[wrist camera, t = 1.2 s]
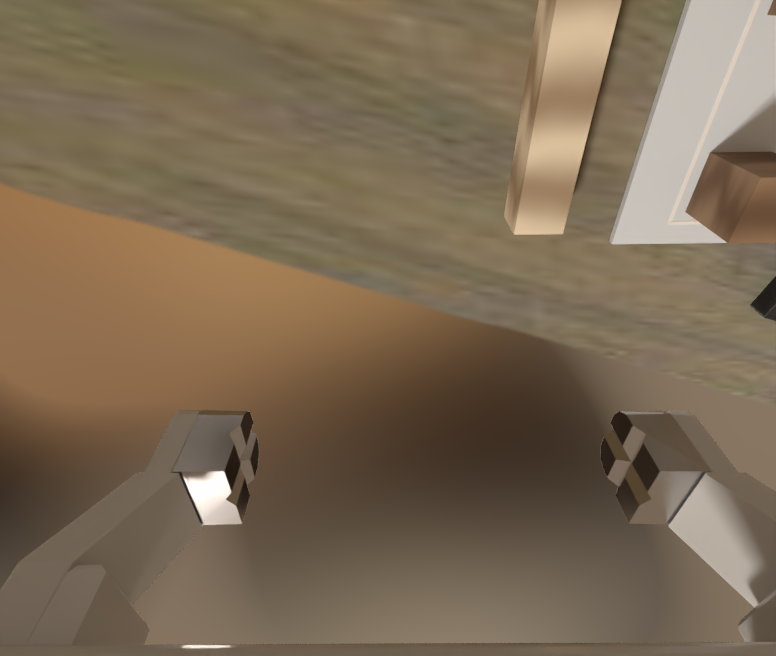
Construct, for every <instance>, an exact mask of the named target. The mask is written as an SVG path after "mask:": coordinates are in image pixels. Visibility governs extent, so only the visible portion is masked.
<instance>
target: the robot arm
mask: <svg viewBox="0 0 776 656" xmlns="http://www.w3.org/2000/svg"><path fill="white" fill-rule="evenodd" d="M252 425H253V420H252V416H251V413H250V412H248V411H216V410H215V411H214V410H179V411H178V412H177V413H176V414H175V415H174V416H173V418H172V420H171V422H170V424H169V426H168V428H167V430H166V431H165V434H164V435H163V437H162V439H161V441H160V443H159V445H158V447H157V449H156V451H155V453H154V455H153V457H152V459H151V461H150V463H149V465H148V466H147V468H146V470H145V472H144V473H137V474H135V475H134V476H132V477H131V478H130V479H128V480H127V481H126V482H124V483H123V484H122V485H121V486H119V487H118V488H116V489H115V490H114V491H112V492H111V493H110V494H109V495H107V496H106V497H105V498H103V499H102V500H101V501H99V502H98V503H97V504H95V505H94V506H93V507H91V508H90V509H89V510H87V511H86V512H85V513H83V514H82V515H81V516H79V517H78V518H77V519H75V520H74V521H73V522H72V523H70V524H69V525H68V526H66V527H65V528H63V529H62V530H61V531H60V532H58V533H57V534H56V535H54V536H53V537H52V538H50V539H49V540H48V541H46V542H45V543H44V544H42V545H41V546H40V547H38V548H37V549H36V550H34V551H33V552H32V553H31V554H29V555H28V556H26V557H25V558H24V559H23V560H21V561H20V562H19V563H18V564H17V566H16V567H15V569H14V570H13V572H12V573H11V575H10V576H9V578H8V579H7V581H6V582H5V584H4V586H3V587H2V588H1V590H0V656H776V492H775V491H774V490H772V489H771V488H769V487H768V486H766V485H764V484H763V483H761V482H760V481H758V480H757V479H755V478H753V477H752V476H750V475H748V474H747V473H738V471H737V470H736V469H735V467H734V466H733V465H732V463H731V462H730V461H729V460H728V458H727V457H726V455H725V454H724V453H723V451H722V450H721V449H720V448H719V446H718V445H717V444H716V442H715V441H714V440H713V438H712V437H711V436H710V434H709V433H708V432H707V431H706V429H705V428H704V426H703V425H702V424H701V423H700V421H699V420H698V419H697V417H696V416H695V415H694V414H692V413H691V412H689V411H619V412H617V413H616V414H615V415H614V416H613V418H612V420H611V425H612V427H613V429H614V430H613V431H611V432H610V433H608V434H607V435H605V436H604V438H603V441H602V444H601V448H600V451H601V452H600V458H601V462H602V466H603V469H604V471H605V473H606V476H607V478H608V479H610V480H611V481H612V482H613V483H615V484H616V485H617V486H618V489H617V493H616V497H617V499H618V501H619V504H620V506H621V508H622V510H623V512H624V514H625V516H626V518H627V520H628V522H629V523H637V524H638V523H639V524H640V523H641V524H669V526H668V527H669V528H671V529H672V530H673V531H674V532H675V533H676V534H677V535H678V536H679V537H680V538H681V539H682V540H683V541H685V543H686V544H688V545H689V546H690V547H691V548H692V549H693V550H694V551H695V552H696V553H697V554H698V555H699V556H700V557H701V558H702V559H703V560H705V561H706V562H707V563H708V564H709V565H710V566H711V567H712V568H713V569H714V570H715V571H716V572H717V573H718V574H720V575H721V576H722V577H723V578H724V579H725V580H726V581H727V582H728V583H729V584H730V585H731V586H732V587H733V588H734V589H735V590H737V592H739V593H740V594H741V595H742V596H743V597H744V598H745V599H746V600H747V601H748V602H749V603H750V604H751V605H753V607H755V608H754V609H753V610H752V611H750V612H749V613H748V614H747V615H746V616H745V617H744V618H742V619H741V620H740V623H739V625H738V629H739V631H740V633H741V634H742V636H743V638H744V640H745V642H673V643H672V642H664V643H663V642H660V643H659V642H655V643H654V642H652V643H650V642H649V643H648V642H647V643H646V642H644V643H416V644H415V643H407V644H406V643H396V644H395V643H394V644H393V643H391V644H390V643H387V644H386V643H384V644H174V645H173V644H167V645H164V644H163V645H162V644H159V645H144V644H145V641H146V638H147V635H148V633H149V628H148V626H147V623H146V622H145V621H144V619H143V618H142V617H141V616H140V614H139V613H138V612H137V610H136V609H135V608H134V606H133V604H134V603H135V602H136V601H137V600H138V599H139V598H140V597H141V595H142V594H143V593H144V592H145V591H146V590H147V589H148V588H149V586H150V585H151V584H152V583H153V582H154V581H155V580H156V579H157V578H158V576H159V575H160V574H161V573H162V572H163V571H164V570H165V569H166V567H167V566H168V565H169V564H170V563H171V562H172V561H173V560H174V558H175V557H176V556H177V555H178V554H179V553H180V552H181V550H183V548H184V547H185V546H186V545H187V544H188V543H189V542H190V541H191V539H192V538H193V537H194V536H195V535H196V534H197V533H198V532H199V530H200V529H201V528H202V525H219V524H242V522H243V519H244V515H245V512H246V508H247V504H248V501H249V497H250V494H249V491H248V488H247V484H249V482H251V481H252V480H253V479H254V478H255V475H256V471H257V467H258V458H259V444H258V439H257V436H256V435H255V434H254V433H252V432H251V429H252Z"/></svg>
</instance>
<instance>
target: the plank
mask: <svg viewBox="0 0 776 656" xmlns="http://www.w3.org/2000/svg"><path fill="white" fill-rule="evenodd" d="M621 2H622V0H539V4H538V10H537V16H536V22H535V29H534V35H533V41H532V47H531V53H530V59H529V66H528V72H527V78H526V84H525V90H524V96H523V102H522V109H521V115H520V121H519V127H518V133H517V139H516V146H515V152H514V158H513V164H512V170H511V176H510V183H509V189H508V195H507V201H506V207H505V213H504V217H505V219H506V221H507V223H508V224H509V226H510V228H511V230H512V232H513V234H514V235H519V234H563V231H564V227H565V223H566V219H567V215H568V211H569V207H570V203H571V199H572V195H573V191H574V187H575V183H576V180H577V176H578V172H579V168H580V164H581V160H582V156H583V152H584V148H585V144H586V140H587V136H588V132H589V128H590V124H591V120H592V116H593V112H594V108H595V104H596V100H597V96H598V93H599V89H600V85H601V81H602V77H603V73H604V69H605V65H606V61H607V57H608V53H609V49H610V45H611V41H612V37H613V33H614V29H615V25H616V21H617V17H618V13H619V10H620V6H621Z"/></svg>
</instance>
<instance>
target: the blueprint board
mask: <svg viewBox="0 0 776 656" xmlns="http://www.w3.org/2000/svg"><path fill="white" fill-rule="evenodd" d="M772 2H773V0H686V2H685V6H684V9H683V12H682V15H681V18H680V21H679V24H678V27H677V31H676V34H675V37H674V40H673V43H672V46H671V49H670V52H669V56H668V59H667V62H666V65H665V68H664V71H663V74H662V77H661V80H660V84H659V87H658V90H657V93H656V96H655V99H654V102H653V105H652V109H651V112H650V115H649V118H648V121H647V124H646V127H645V130H644V134H643V137H642V140H641V143H640V146H639V149H638V152H637V155H636V159H635V162H634V165H633V168H632V171H631V174H630V177H629V180H628V184H627V187H626V190H625V193H624V196H623V199H622V202H621V205H620V209H619V212H618V215H617V218H616V221H615V224H614V227H613V230H612V234H611V237H610V240H609V242H610V243H611V244H668V243H727V242H725V241H724V240H723V239H721V238H720V237H719V236H717V235H716V234H715V233H713V232H712V231H710V230H709V229H708V228H706V227H705V226H704V225H702V224H701V223H700V222H698V221H697V220H695V219H694V218H693V217H691V216H690V215H689V214H687V213H686V212H685V211H686V209H687V206H688V204H689V202H690V199H691V197H692V194H693V192H694V189H695V187H696V185H697V182H698V180H699V177H700V175H701V173H702V170H703V168H704V165H705V163H706V161H707V158H708V156H709V153H710V152H774V153H776V16H774V15H767V14H768V11H769V9H770V6H771V4H772Z"/></svg>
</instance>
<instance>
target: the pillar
mask: <svg viewBox="0 0 776 656" xmlns="http://www.w3.org/2000/svg"><path fill="white" fill-rule="evenodd" d="M685 212H686V213H687V214H689V215H690V216H691V217H693V218H694V219H695V220H697V221H698V222H700V223H701V224H702V225H704V226H705V227H706V228H708V229H709V230H710V231H712V232H713V233H715V234H716V235H717V236H719V237H720V238H721V239H723V240H724V241H725V242H727V243H776V153H774V152H710V153H709V156H708V158H707V161H706V163H705V165H704V168H703V170H702V173H701V175H700V177H699V180H698V182H697V185H696V187H695V189H694V192H693V194H692V197H691V199H690V202H689V204H688V206H687V209H686V211H685Z"/></svg>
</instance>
